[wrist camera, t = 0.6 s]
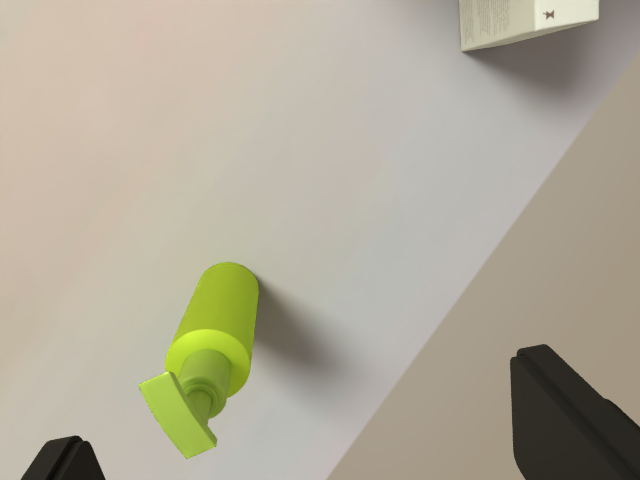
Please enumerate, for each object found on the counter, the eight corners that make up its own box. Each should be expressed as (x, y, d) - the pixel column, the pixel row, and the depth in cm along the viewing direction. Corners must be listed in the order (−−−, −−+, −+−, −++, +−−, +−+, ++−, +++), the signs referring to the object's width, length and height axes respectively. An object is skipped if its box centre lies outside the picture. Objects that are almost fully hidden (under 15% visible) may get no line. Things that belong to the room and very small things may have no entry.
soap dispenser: (236, 243, 42) (200, 361, 23) (269, 302, 45) (260, 454, 26) (181, 268, 43) (101, 405, 24) (216, 326, 45) (168, 494, 26)
